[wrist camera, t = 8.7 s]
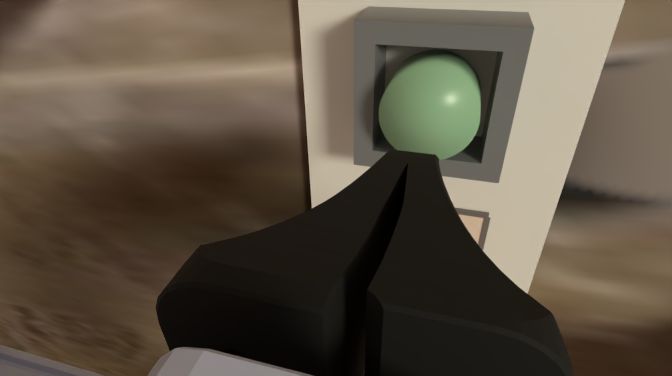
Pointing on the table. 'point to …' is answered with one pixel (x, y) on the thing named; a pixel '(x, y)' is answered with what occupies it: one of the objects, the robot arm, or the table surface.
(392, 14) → the button housing
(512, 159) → the white flat panel
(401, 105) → the button
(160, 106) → the table surface
